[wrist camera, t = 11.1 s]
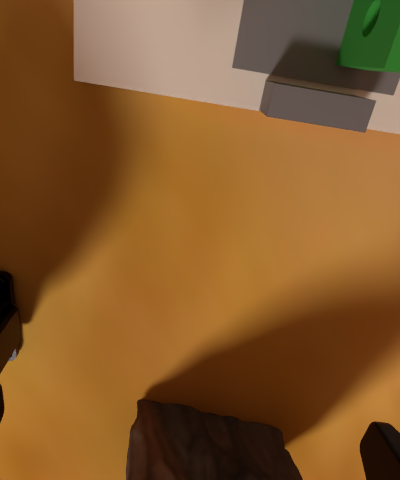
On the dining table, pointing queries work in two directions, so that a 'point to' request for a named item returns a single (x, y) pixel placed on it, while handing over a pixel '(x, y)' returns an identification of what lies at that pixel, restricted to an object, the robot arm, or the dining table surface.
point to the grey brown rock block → (203, 447)
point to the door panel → (236, 57)
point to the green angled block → (372, 37)
